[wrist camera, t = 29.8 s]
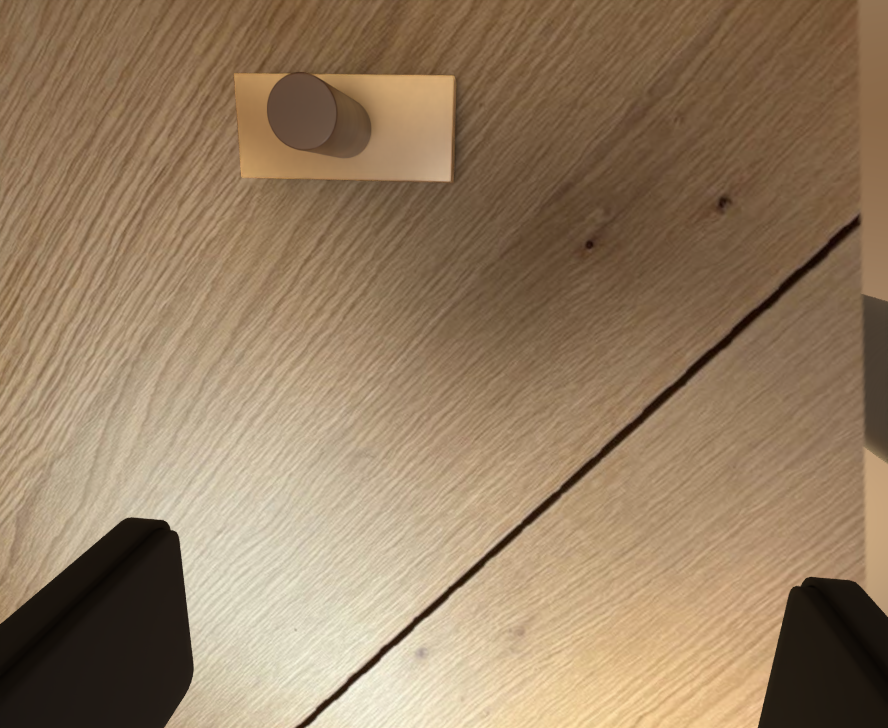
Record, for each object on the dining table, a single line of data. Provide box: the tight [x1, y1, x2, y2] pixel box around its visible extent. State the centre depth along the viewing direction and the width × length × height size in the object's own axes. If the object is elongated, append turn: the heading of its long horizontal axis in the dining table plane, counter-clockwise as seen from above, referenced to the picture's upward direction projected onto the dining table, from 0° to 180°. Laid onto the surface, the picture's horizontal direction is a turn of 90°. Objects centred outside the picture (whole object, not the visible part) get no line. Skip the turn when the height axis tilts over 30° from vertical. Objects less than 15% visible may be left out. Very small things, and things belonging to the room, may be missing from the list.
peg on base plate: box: [234, 72, 457, 183], centre depth 25 cm, size 4×10×9 cm, turn 89°
